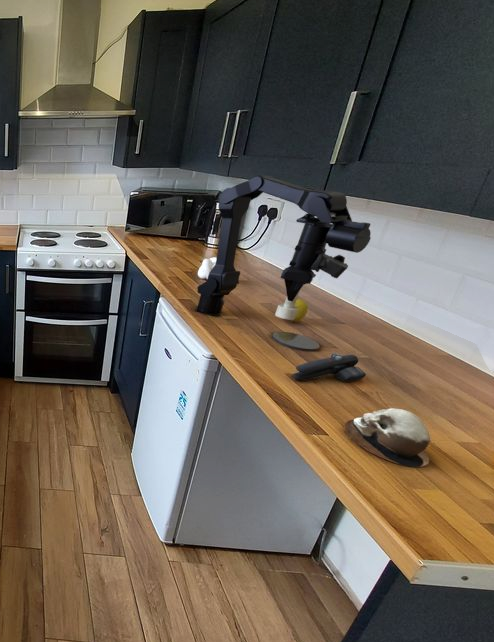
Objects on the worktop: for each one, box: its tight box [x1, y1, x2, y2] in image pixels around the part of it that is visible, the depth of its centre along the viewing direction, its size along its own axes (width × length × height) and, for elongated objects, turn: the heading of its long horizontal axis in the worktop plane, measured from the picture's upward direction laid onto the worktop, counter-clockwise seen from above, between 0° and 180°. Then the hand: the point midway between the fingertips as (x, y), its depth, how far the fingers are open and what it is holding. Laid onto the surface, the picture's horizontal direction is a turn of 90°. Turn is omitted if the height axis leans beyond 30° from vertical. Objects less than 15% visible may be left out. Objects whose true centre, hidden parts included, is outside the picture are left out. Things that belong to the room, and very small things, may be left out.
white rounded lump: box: [197, 256, 217, 280], centre depth 164 cm, size 11×12×9 cm
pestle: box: [274, 288, 302, 321], centre depth 109 cm, size 5×5×12 cm
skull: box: [344, 407, 431, 468], centre depth 75 cm, size 12×10×10 cm
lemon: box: [289, 298, 308, 323], centre depth 127 cm, size 6×6×8 cm
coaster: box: [271, 331, 320, 352], centre depth 115 cm, size 11×11×1 cm
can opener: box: [291, 352, 367, 383], centre depth 96 cm, size 18×7×6 cm, turn 100°
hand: (291, 299), depth 109 cm, fingers closed on pestle, 2 cm apart
